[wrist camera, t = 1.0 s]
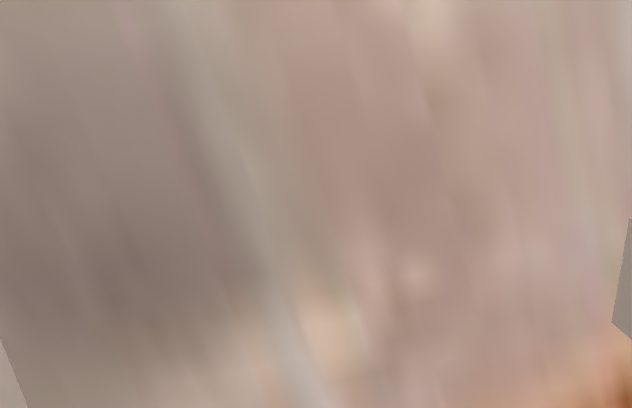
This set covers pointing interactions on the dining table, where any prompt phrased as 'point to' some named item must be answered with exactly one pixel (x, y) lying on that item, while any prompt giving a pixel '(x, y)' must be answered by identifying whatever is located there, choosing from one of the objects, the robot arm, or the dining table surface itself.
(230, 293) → the dining table surface
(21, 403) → the robot arm
